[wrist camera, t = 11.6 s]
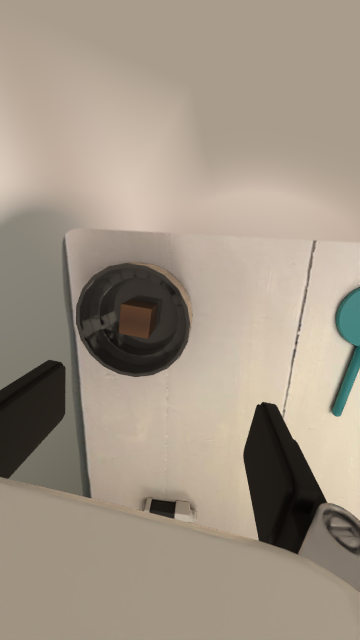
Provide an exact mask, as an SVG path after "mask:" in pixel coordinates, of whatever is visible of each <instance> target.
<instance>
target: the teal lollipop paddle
mask: <svg viewBox="0 0 360 640" xmlns="http://www.w3.org/2000/svg"><path fill="white" fill-rule="evenodd" d="M336 325H337V329H338V331H339V333H340V335H341V336H342V337H343V338H344V339H345V340H346V341H348V342H350V343H352V344H353V345H356V349H355V351H354V354H353V357H352V359H351V362H350V365H349V367H348V370H347V372H346V375H345V378H344V380H343V383H342V386H341V388H340V391H339V394H338V396H337V399H336V401H335V404H334V407H333V409H332V413H333V415H335V416H340V415H341V414H342V411H343V409H344V406H345V404H346V401H347V399H348V396H349V393H350V391H351V388H352V386H353V383H354V381H355V378H356V376H357V373H358V371H359V368H360V287H359V288H358V289H356V290H354V291H353V292H351V293H350V294H349V295H348V296H347V297H346V298H345V299H344V300H343V301H342V303H341V304H340V306H339V308H338V311H337V314H336Z"/></svg>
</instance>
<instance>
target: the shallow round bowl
mask: <svg viewBox="0 0 360 640" xmlns="http://www.w3.org/2000/svg"><path fill="white" fill-rule="evenodd" d="M130 299H134V300H140V301H146V302H152V303H157V304H158V308H157V316H156V324H155V330H154V331H153V333H152V334H151V335H150V337H149V338H148V339H147V338H142V337H136V336H131V335H125V334H120V333H119V323H120V311H121V304H122V303H124V302H126V301H128V300H130ZM192 316H193V314H192V308H191V302H190V298H189V296H188V294H187V292H186V290H185V288H184V286H183V285H182V284H181V283H180V282H179V281H178V280H177V279H176V278H175V277H174V276H173V275H172V274H171V273H170V272H168V271H166V270H164V269H162V268H160V267H158V266H156V265H150V264H143V263H124V264H119V265H114V266H109V267H107V268H105V269H104V270H102V271H100V272H99V273H97V274H95V275H94V276H93V277H92V278H91V279H90V280H89V282H88V283H87V284H86V285H85V287H84V288H83V289H82V291H81V294H80V297H79V300H78V303H77V306H76V324H77V328H78V331H79V335H80V338H81V341H82V342H83V344H84V345H85V347H86V348H87V350H88V351H89V353H90V354H91V356H93V357H94V358H95V359H96V360H97V361H98V362H99V363H100V364H102V365H103V366H104V367H106V368H108V369H110V370H112V371H114V372H116V373H118V374H122V375H128V376H133V377H140V376H149V375H154V374H156V373H158V372H160V371H163V370H165V369H167V368H168V367H169V366H171V365H172V364H173V363H174V362H175V361H176V360H177V359H178V358H179V357H180V356H181V354H182V352H183V350H184V348H185V346H186V344H187V343H188V338H189V333H190V328H191V322H192Z"/></svg>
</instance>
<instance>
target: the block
mask: <svg viewBox="0 0 360 640" xmlns="http://www.w3.org/2000/svg"><path fill="white" fill-rule="evenodd" d="M157 308H158V304H157V303H152V302H146V301H140V300H134V299H130V300H128V301H126V302H124V303H122V304H121V311H120V323H119V333H120V334H125V335H131V336H136V337H142V338H147V339H148V338H149V337H150V335H151V334H152V333H153V331H154V330H155V324H156V316H157Z"/></svg>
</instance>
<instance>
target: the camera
mask: <svg viewBox="0 0 360 640" xmlns="http://www.w3.org/2000/svg"><path fill="white" fill-rule="evenodd" d="M144 512H148V513H152V514H156V515H160V516H164V517H168V518H172V519H176V520H180V521H185V522H189V523H191V521H193V522H196V518H197V511H195V510H194V511H193V510H192V509H190V503H189V502H183V501H176V504H174V503H167V502H160V501H153V500H152V498H148V499H147V500H146V504H145V508H144Z"/></svg>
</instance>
